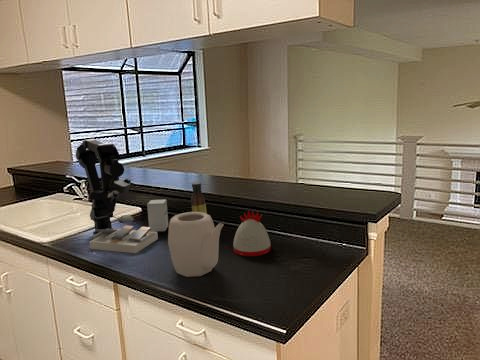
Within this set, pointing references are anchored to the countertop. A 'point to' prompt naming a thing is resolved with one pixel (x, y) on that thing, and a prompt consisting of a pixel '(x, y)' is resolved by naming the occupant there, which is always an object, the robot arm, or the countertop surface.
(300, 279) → the countertop surface
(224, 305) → the countertop surface
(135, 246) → the switch board
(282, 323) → the countertop surface
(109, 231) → the rocker
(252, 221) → the kitchen timer
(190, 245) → the watering can
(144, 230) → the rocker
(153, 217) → the supplement box
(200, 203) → the sauce bottle
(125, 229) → the rocker
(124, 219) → the soupspoon
